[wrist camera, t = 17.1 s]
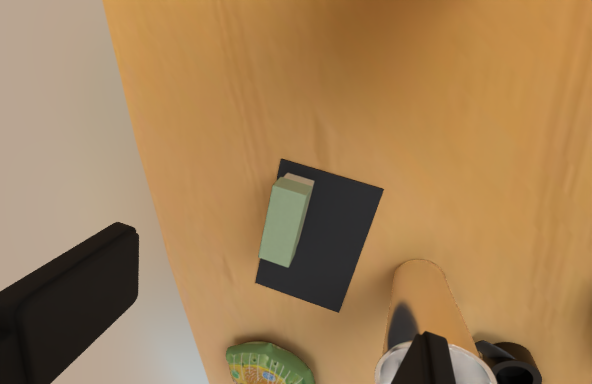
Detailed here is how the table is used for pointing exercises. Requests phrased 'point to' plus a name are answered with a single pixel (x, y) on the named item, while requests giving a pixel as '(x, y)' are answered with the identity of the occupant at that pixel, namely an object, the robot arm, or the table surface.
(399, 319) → the metal cup with straw
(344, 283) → the desk mat
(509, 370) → the duct tape
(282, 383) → the educational model
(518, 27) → the table surface
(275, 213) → the green and beige block
